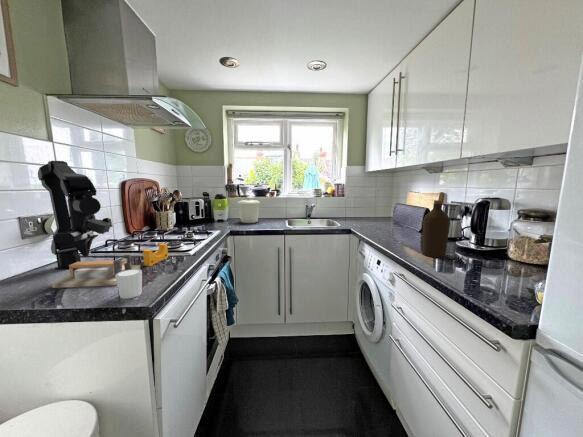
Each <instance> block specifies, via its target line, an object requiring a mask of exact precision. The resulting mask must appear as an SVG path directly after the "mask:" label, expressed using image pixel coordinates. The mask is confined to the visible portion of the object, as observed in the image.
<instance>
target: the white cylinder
mask: <svg viewBox="0 0 583 437" xmlns="http://www.w3.org/2000/svg"><path fill="white" fill-rule="evenodd" d="M115 276H116V281H117V285H116V286H117V289H118V293H119V297H120V299H133V298H137V297H138V296H140V295H141V294H142V290H143V287H142V283H143V281H142V280H143V270H142V269H130V270H125V271H121V272H119V273H117V274H116V275H115Z"/></svg>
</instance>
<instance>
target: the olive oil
mask: <svg viewBox="0 0 583 437" xmlns="http://www.w3.org/2000/svg"><path fill="white" fill-rule="evenodd" d="M432 205H433V207H432V210H430V211H429V212H428V213H427V214H425V216H424V218H423V220H422V249H421V250H422V251H421V253H422V255H423V256H424V257H428V258H434V259H436V258H437V259H443V258H446V256H447V247H448V239H449V233H450V225H451V219H450V217H449V216H448V215H447V213H446V212H445V211H444V210H443V200H440V199H439V200H437V199H436V200H433V204H432Z"/></svg>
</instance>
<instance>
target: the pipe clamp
mask: <svg viewBox="0 0 583 437" xmlns="http://www.w3.org/2000/svg"><path fill="white" fill-rule="evenodd" d="M168 249H169V248H168V243H163V242H162V243H160V244H158V250H156V251H154V252H153V250H152V249H143V250H142V253H143V254H142V255H143V265H144V266H146V267H148V266H149V267H150V266H153V265H154V264H155V265H156V264H158V263H159V262H162V260H165V259H167V258H169V250H168Z"/></svg>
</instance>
